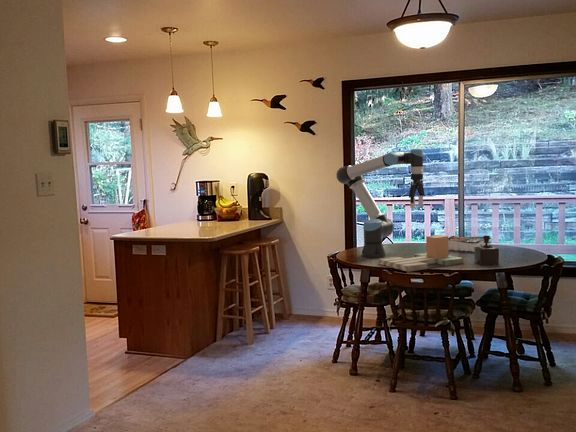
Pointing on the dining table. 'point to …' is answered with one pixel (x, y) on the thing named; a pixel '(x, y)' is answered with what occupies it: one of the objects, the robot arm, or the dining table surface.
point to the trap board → (419, 262)
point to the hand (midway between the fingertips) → (416, 207)
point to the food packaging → (464, 243)
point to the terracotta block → (437, 246)
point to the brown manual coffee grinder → (486, 253)
